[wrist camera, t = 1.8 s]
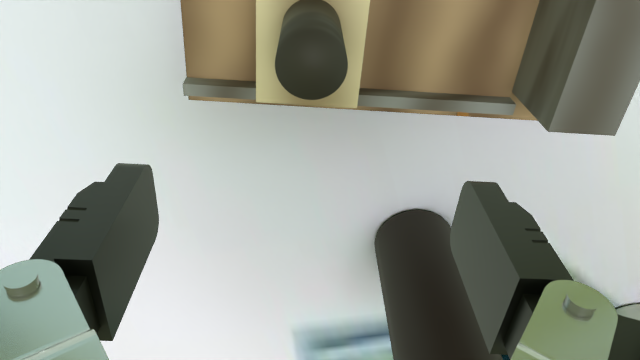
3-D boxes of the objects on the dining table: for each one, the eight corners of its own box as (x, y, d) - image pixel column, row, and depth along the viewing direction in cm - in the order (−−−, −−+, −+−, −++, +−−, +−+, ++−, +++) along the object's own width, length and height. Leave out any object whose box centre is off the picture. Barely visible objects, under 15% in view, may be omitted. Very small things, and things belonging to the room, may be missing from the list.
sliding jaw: (369, -68, 27) (395, -41, 19) (352, 83, 32) (366, 158, 24) (263, -76, 27) (240, -53, 18) (261, 77, 32) (243, 151, 23)
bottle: (428, 194, 39) (517, 436, 22) (465, 245, 42) (568, 493, 25) (358, 232, 41) (391, 481, 24) (398, 279, 44) (452, 529, 27)
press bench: (654, -86, 28) (752, -74, 22) (576, 114, 35) (633, 166, 29) (177, -126, 27) (135, -126, 21) (193, 91, 34) (166, 141, 28)
